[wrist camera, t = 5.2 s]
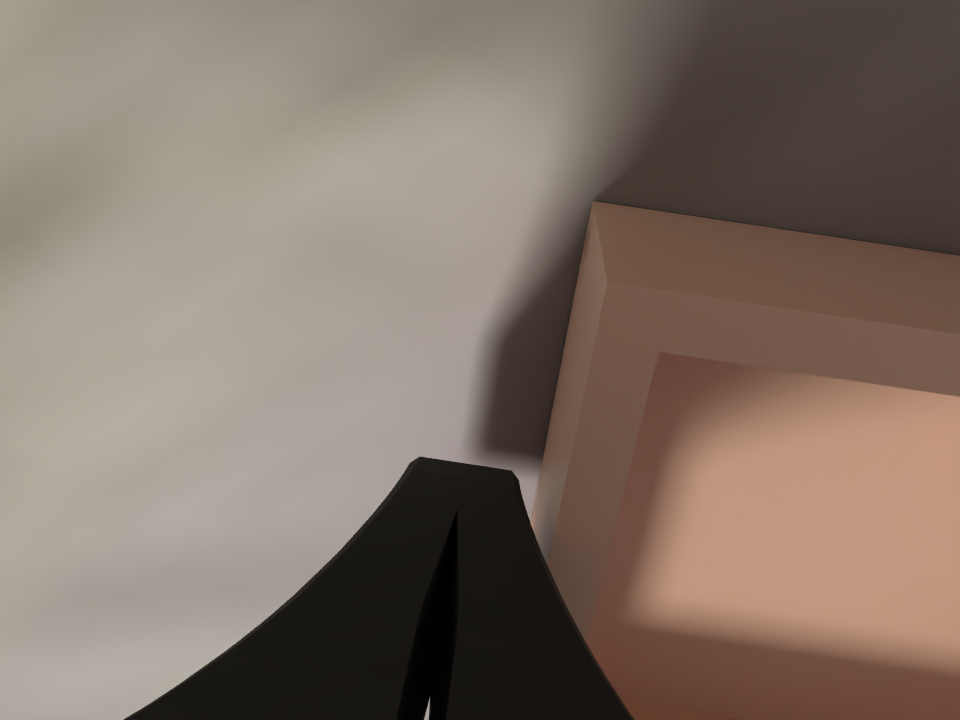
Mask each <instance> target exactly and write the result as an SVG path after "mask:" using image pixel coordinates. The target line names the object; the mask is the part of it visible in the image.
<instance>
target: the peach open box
mask: <svg viewBox="0 0 960 720" xmlns="http://www.w3.org/2000/svg"><path fill="white" fill-rule="evenodd" d="M530 523H531V526H532V528H533V531H534V534H535V537H536V539H537V542H538V544H539V547H540V549H541V552H542V554H543V557H544V559H545V561H546V563H547V565H548V568H549V570H550V572H551V574H552V576H553V579H554V581H555V583H556V585H557V588H558V590H559V592H560V594H561V596H562V598H563V600H564V602H565V604H566V606H567V608H568V610H569V612H570V614H571V616H572V618H573V620H574V621H575V623H576V625H577V627H578V629H579V631H580V632H581V634H582V636H583V638H584V640H585V642H586V644H587V645H588V647H589V649H590V650H591V652H592V654H593V656H594V657H595V659H596V661H597V662H598V664H599V666H600V667H601V669H602V671H603V672H604V674H605V675H606V677H607V679H608V680H609V682H610V683H611V685H612V686H613V688H614V689H615V691H616V692H617V694H618V696H619V697H620V699H621V700H622V702H623V703H624V705H625V706H626V708H627V709H628V711H629V712H630V714H631V715H632V716H633V718H634V719H635V720H960V256H959V255H952V254H945V253H938V252H932V251H925V250H918V249H911V248H905V247H898V246H891V245H884V244H878V243H871V242H864V241H858V240H851V239H844V238H837V237H831V236H824V235H817V234H810V233H804V232H797V231H790V230H783V229H777V228H770V227H763V226H757V225H750V224H743V223H736V222H730V221H723V220H716V219H709V218H703V217H696V216H689V215H682V214H676V213H669V212H662V211H656V210H649V209H642V208H635V207H629V206H622V205H615V204H608V203H602V202H595V201H592V206H591V211H590V216H589V222H588V227H587V232H586V237H585V242H584V248H583V253H582V258H581V263H580V268H579V273H578V279H577V284H576V289H575V294H574V299H573V304H572V310H571V315H570V320H569V325H568V330H567V336H566V341H565V346H564V351H563V356H562V361H561V367H560V372H559V377H558V382H557V387H556V392H555V398H554V403H553V408H552V413H551V418H550V424H549V429H548V434H547V439H546V444H545V449H544V455H543V460H542V465H541V470H540V475H539V480H538V486H537V491H536V496H535V501H534V506H533V511H532V517H531V522H530Z"/></svg>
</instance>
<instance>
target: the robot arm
mask: <svg viewBox="0 0 960 720" xmlns="http://www.w3.org/2000/svg"><path fill="white" fill-rule="evenodd" d="M429 698H430V710H429V720H635V719H634V718H633V716H632V715H631V714H630V712H629V711H628V709H627V708H626V706H625V705H624V703H623V702H622V700H621V699H620V697H619V696H618V694H617V692H616V691H615V689H614V688H613V686H612V685H611V683H610V682H609V680H608V679H607V677H606V675H605V674H604V672H603V671H602V669H601V667H600V666H599V664H598V662H597V661H596V659H595V657H594V656H593V654H592V652H591V650H590V649H589V647H588V645H587V644H586V642H585V640H584V638H583V636H582V634H581V632H580V631H579V629H578V627H577V625H576V623H575V621H574V620H573V618H572V616H571V614H570V612H569V610H568V608H567V606H566V604H565V602H564V600H563V598H562V596H561V594H560V592H559V590H558V588H557V585H556V583H555V581H554V579H553V576H552V574H551V572H550V570H549V568H548V565H547V563H546V561H545V559H544V557H543V554H542V552H541V549H540V547H539V544H538V542H537V539H536V537H535V534H534V531H533V528H532V526H531V523H530V520H529V517H528V514H527V511H526V508H525V505H524V501H523V498H522V494H521V490H520V485H519V480H518V478H517V477H516V476H515V475H514V473H513V472H512V471H511V470H504V469H497V468H491V467H484V466H478V465H471V464H465V463H458V462H451V461H445V460H438V459H432V458H425V457H419V458H417V459H415V460H414V461H412V462H411V463H410V464H409V465H408V467H407V469H406V471H405V472H404V474H403V475H402V477H401V478H400V480H399V481H398V482H397V484H396V485H395V487H394V488H393V489H392V491H391V492H390V493H389V495H388V496H387V497H386V498H385V500H384V501H383V502H382V503H381V505H380V506H379V507H378V508H377V510H376V511H375V512H374V513H373V514H372V516H371V517H370V518H369V519H368V520H367V521H366V522H365V523H364V524H363V526H362V527H361V528H360V529H359V530H358V531H357V532H356V533H355V535H354V536H353V537H352V538H351V539H350V540H349V541H348V542H347V543H346V545H345V546H344V547H343V548H342V549H341V550H340V551H339V552H338V553H337V554H336V555H335V556H334V557H333V558H332V559H331V560H330V561H329V562H328V563H327V564H326V565H325V566H324V567H323V568H322V569H321V570H320V571H319V572H318V573H317V574H316V575H314V576H313V577H312V578H311V579H310V580H309V581H308V582H307V583H306V584H305V585H304V586H303V587H302V588H301V589H300V590H299V591H298V592H297V593H296V594H295V595H294V596H292V597H291V598H290V599H289V600H288V601H287V602H286V603H284V604H283V605H282V606H281V607H280V608H279V609H278V610H276V611H275V612H274V613H273V614H272V615H271V616H269V617H268V618H267V619H266V620H265V621H263V622H262V623H261V624H260V625H259V626H257V627H256V628H255V629H253V630H252V631H251V632H250V633H248V634H247V635H246V636H245V637H243V638H242V639H241V640H240V641H238V642H237V643H236V644H235V645H233V646H232V647H231V648H229V649H228V650H227V651H225V652H224V653H222V654H221V655H220V656H218V657H217V658H215V659H214V660H213V661H211V662H210V663H208V664H207V665H206V666H204V667H203V668H201V669H200V670H199V671H197V672H196V673H194V674H193V675H192V676H190V677H189V678H187V679H186V680H185V681H183V682H182V683H180V684H179V685H177V686H176V687H174V688H173V689H171V690H170V691H168V692H167V693H165V694H164V695H162V696H161V697H159V698H158V699H156V700H155V701H153V702H152V703H150V704H149V705H147V706H145V707H144V708H142V709H141V710H139V711H137V712H135V713H134V714H132V715H130V716H129V717H127V718H125V719H124V720H424V717H425V713H426V709H427V706H428V702H429Z"/></svg>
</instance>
